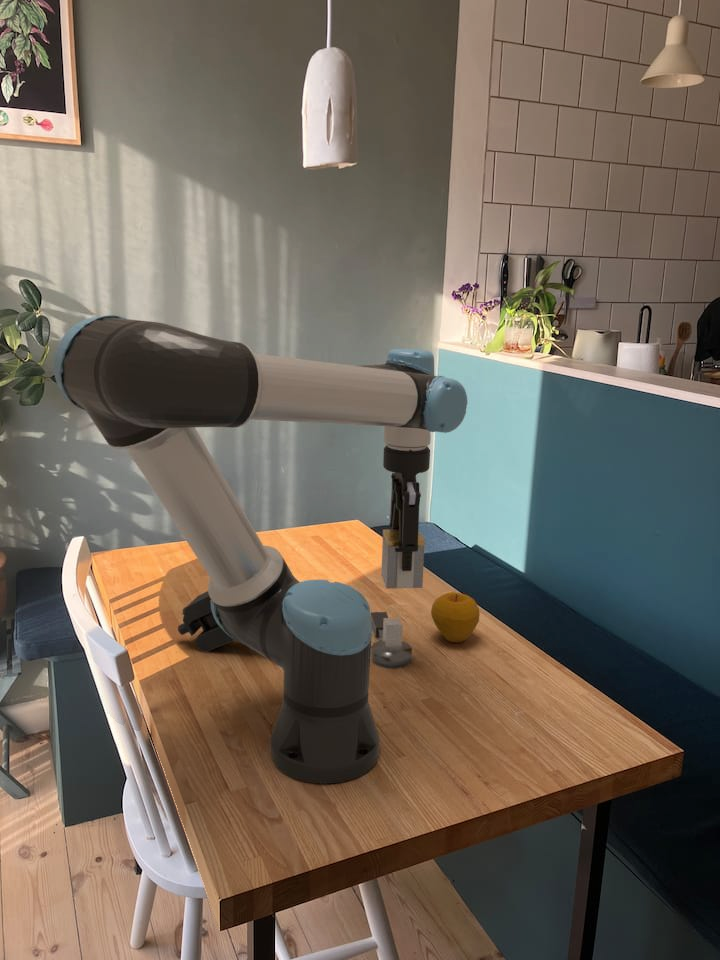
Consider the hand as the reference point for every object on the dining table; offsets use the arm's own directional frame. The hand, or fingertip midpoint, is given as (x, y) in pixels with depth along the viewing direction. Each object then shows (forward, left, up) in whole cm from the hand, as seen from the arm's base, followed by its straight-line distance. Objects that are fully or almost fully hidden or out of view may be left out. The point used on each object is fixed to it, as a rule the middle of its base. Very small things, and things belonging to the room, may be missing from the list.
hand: (401, 579), depth 136 cm
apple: (+7, -12, -15) cm, 20 cm away
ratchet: (+6, +1, -15) cm, 16 cm away
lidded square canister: (0, 0, 0) cm, 0 cm away
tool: (+7, +28, -15) cm, 32 cm away
